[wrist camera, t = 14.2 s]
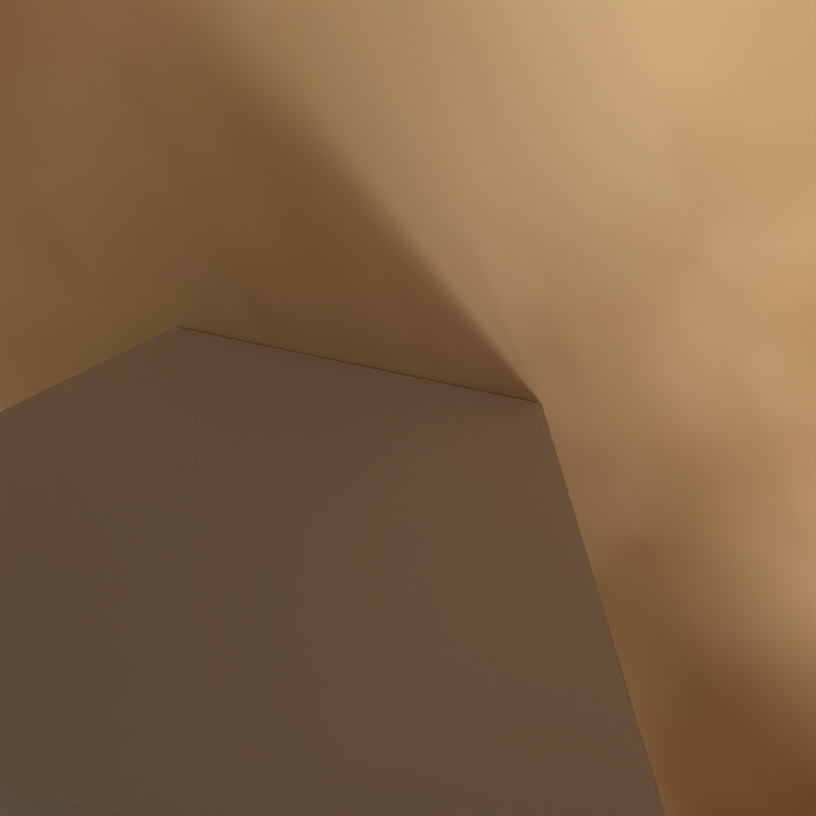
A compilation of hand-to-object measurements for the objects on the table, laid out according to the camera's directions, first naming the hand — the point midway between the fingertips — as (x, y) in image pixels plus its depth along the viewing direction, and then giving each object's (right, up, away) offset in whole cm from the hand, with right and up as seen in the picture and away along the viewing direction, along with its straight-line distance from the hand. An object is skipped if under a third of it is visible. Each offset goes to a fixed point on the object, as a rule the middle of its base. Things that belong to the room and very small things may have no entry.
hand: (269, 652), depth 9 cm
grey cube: (0, +1, +4) cm, 5 cm away
